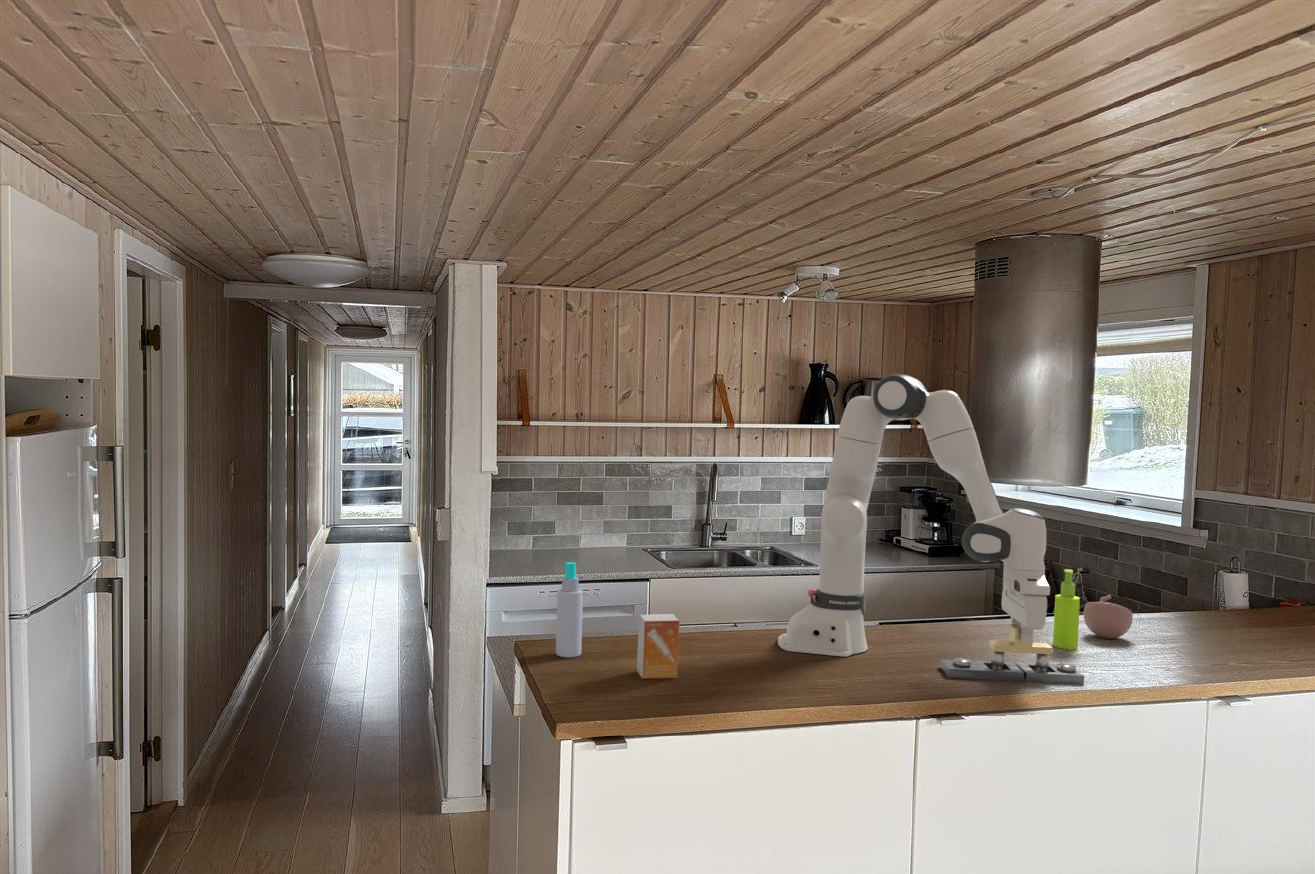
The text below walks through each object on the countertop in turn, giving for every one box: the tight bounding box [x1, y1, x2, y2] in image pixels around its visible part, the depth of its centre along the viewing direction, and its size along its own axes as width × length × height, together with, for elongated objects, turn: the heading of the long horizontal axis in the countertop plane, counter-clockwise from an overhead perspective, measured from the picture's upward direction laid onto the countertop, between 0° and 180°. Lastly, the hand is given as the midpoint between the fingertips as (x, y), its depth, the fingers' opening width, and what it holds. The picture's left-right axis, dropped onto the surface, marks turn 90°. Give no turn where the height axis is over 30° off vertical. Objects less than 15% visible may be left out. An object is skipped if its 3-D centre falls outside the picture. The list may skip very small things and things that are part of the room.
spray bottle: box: [555, 561, 584, 659], centre depth 219 cm, size 6×6×22 cm
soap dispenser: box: [1052, 568, 1081, 650], centre depth 241 cm, size 6×7×20 cm
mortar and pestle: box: [1083, 594, 1134, 640], centre depth 251 cm, size 12×12×11 cm
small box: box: [636, 613, 680, 680], centre depth 206 cm, size 8×6×13 cm
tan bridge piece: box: [988, 624, 1054, 672], centre depth 213 cm, size 13×4×10 cm, turn 86°
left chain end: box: [939, 657, 1025, 682], centre depth 214 cm, size 17×8×3 cm, turn 86°
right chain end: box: [1014, 662, 1085, 685], centre depth 213 cm, size 13×8×3 cm, turn 86°
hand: (1020, 639), depth 213 cm, fingers closed on tan bridge piece, 4 cm apart
